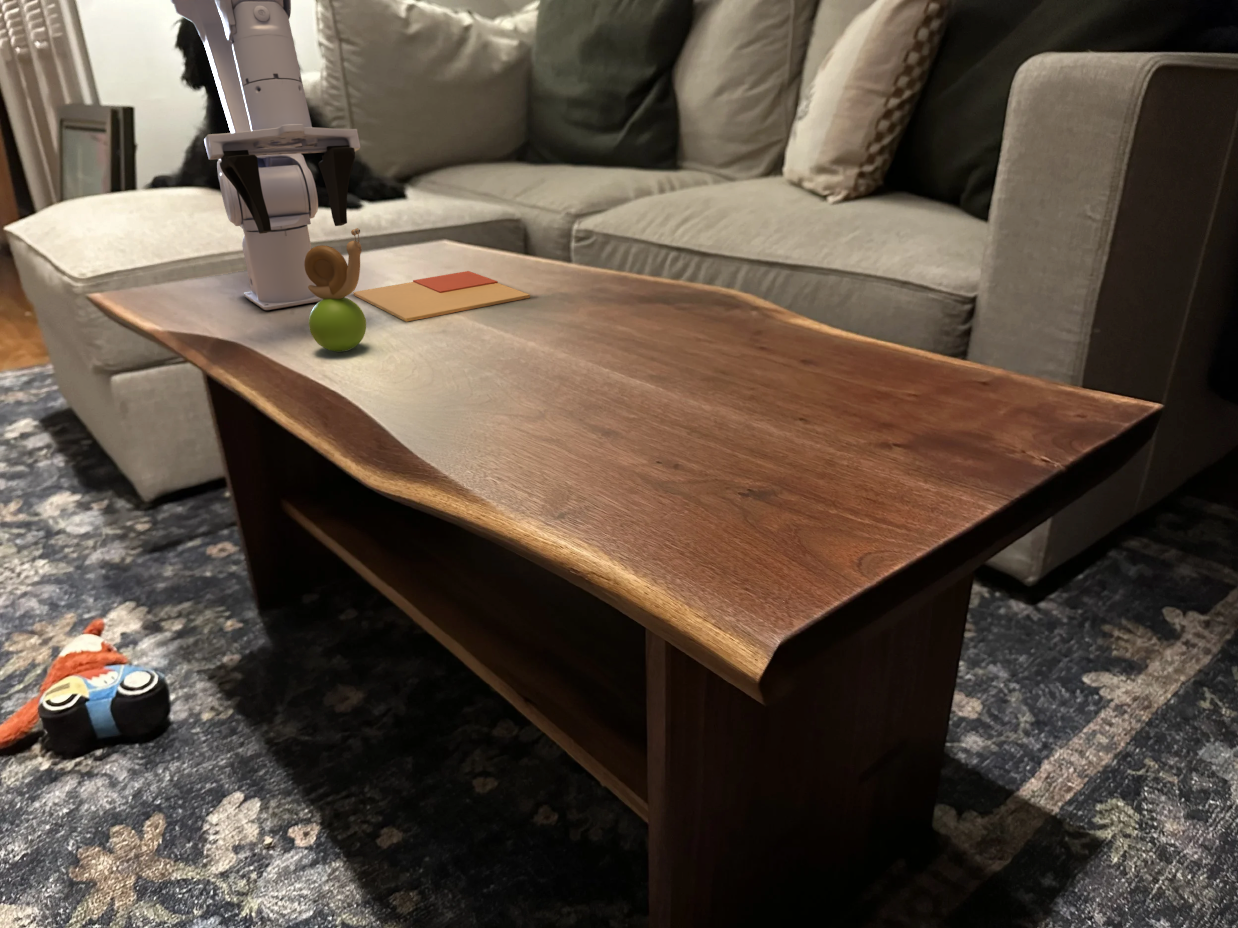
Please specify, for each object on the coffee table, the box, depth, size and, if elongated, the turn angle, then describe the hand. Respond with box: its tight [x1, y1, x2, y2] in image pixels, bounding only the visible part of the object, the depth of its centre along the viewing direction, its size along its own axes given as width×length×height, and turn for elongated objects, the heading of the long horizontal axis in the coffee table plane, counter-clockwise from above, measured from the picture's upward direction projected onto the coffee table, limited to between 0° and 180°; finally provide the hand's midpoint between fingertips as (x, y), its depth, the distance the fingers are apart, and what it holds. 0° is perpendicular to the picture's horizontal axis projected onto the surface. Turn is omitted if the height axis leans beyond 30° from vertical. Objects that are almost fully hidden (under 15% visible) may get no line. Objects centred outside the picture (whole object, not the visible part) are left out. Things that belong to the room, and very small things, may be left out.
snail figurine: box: [304, 227, 367, 353], centre depth 85 cm, size 5×6×12 cm
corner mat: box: [352, 270, 531, 322], centre depth 106 cm, size 16×16×1 cm
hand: (304, 228), depth 88 cm, fingers open, 7 cm apart
